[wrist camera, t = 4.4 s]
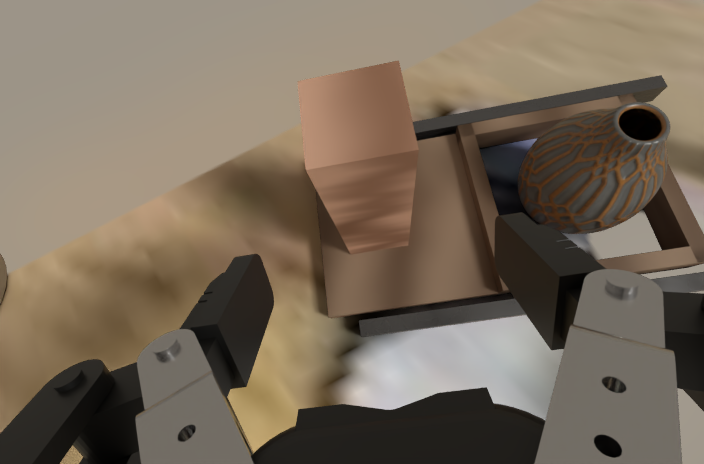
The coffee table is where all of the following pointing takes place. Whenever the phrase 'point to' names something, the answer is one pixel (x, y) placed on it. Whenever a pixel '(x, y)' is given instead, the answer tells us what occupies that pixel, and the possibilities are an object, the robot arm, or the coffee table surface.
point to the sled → (431, 197)
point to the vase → (595, 168)
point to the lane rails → (448, 124)
